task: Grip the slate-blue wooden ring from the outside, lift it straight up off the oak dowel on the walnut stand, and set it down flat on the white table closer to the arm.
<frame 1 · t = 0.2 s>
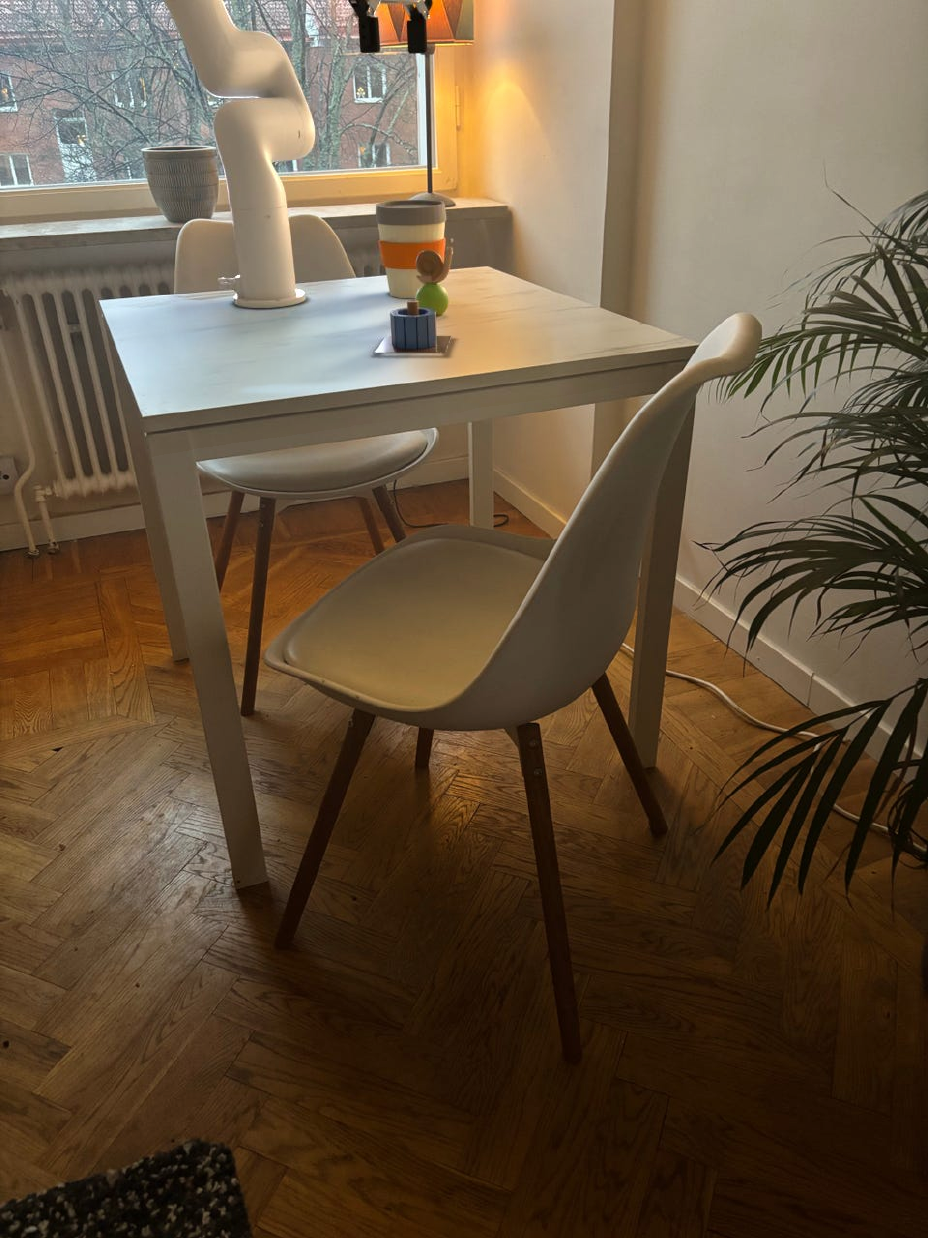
hand: (394, 52, 130), 37 cm above the table, tool pointing down, fingers open, 9 cm apart
blue ring: (414, 343, 135), point 1 cm above the table, touching dowel stand
reusable coffee cup: (414, 294, 171), on the table
dowel stand: (414, 347, 136), on the table
snail figurine: (435, 318, 153), on the table
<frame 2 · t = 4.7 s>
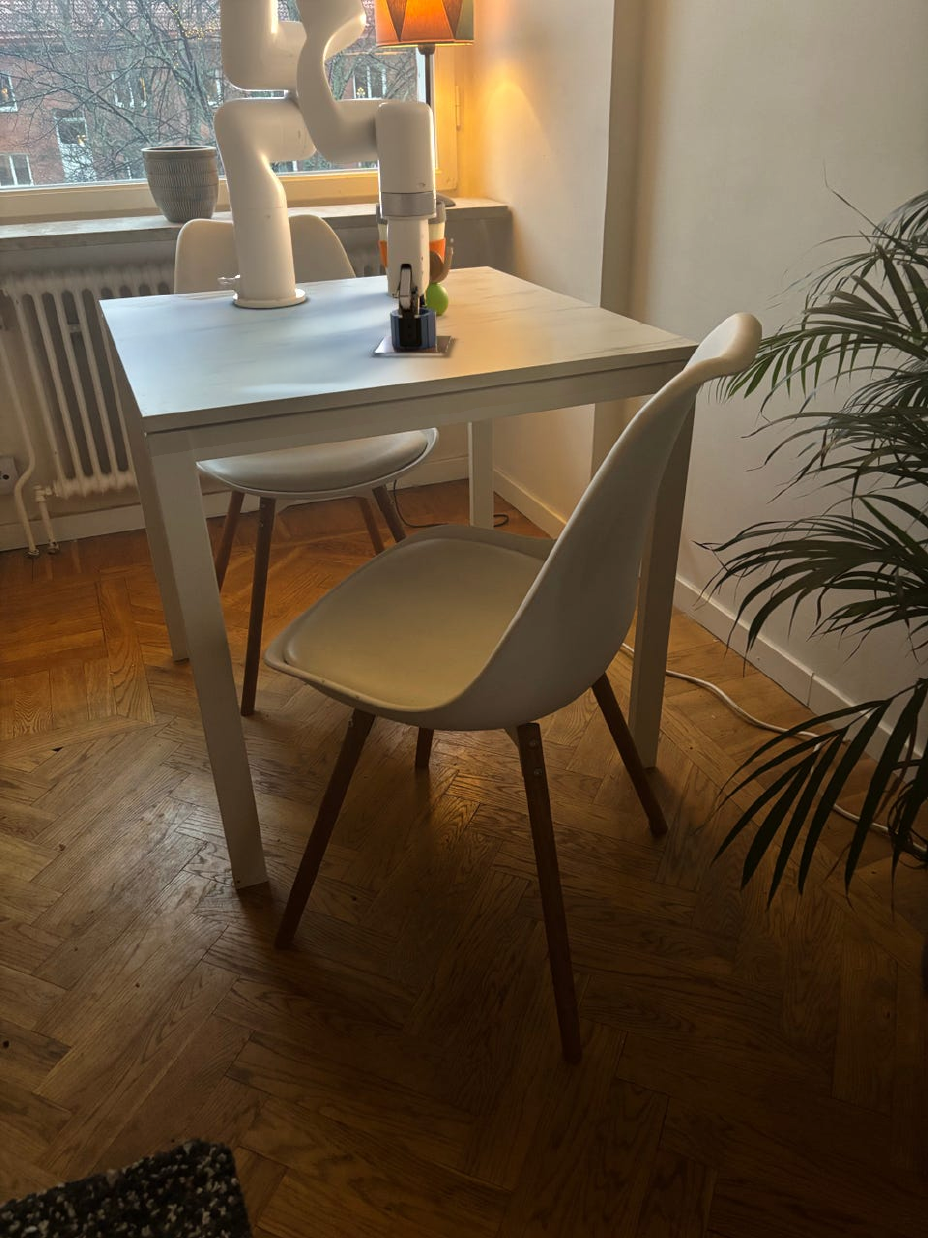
hand: (414, 339, 135), 1 cm above the table, tool pointing down, fingers closed on blue ring, 6 cm apart
blue ring: (414, 343, 135), point 1 cm above the table, touching dowel stand, gripper
everything else where it was.
when the fingers open (1 cm above the table, at t = 13.3 s): blue ring stays where it is, on the table.
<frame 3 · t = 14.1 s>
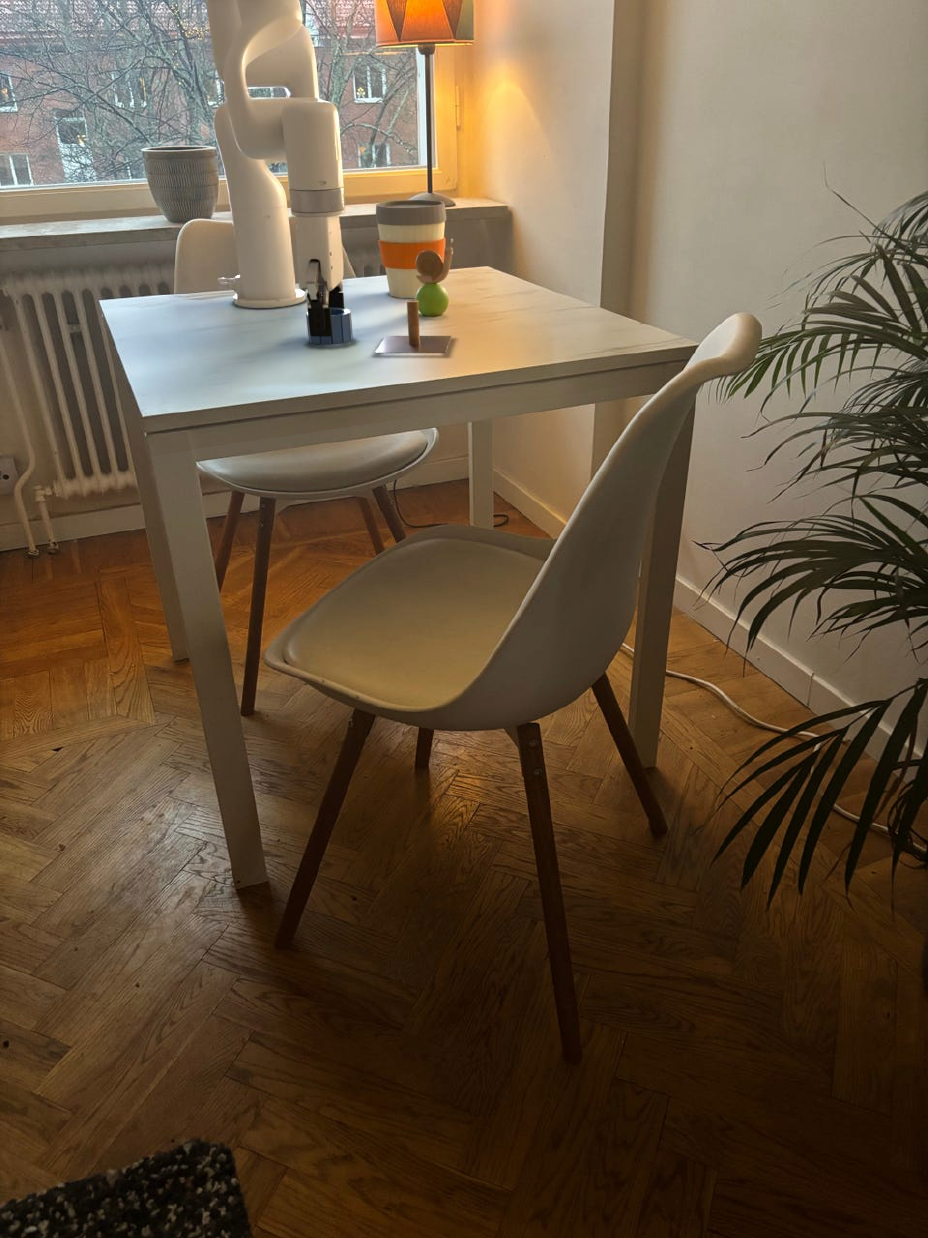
hand: (328, 327, 138), 2 cm above the table, tool pointing down, fingers open, 9 cm apart
blue ring: (331, 343, 139), on the table
everything else where it was.
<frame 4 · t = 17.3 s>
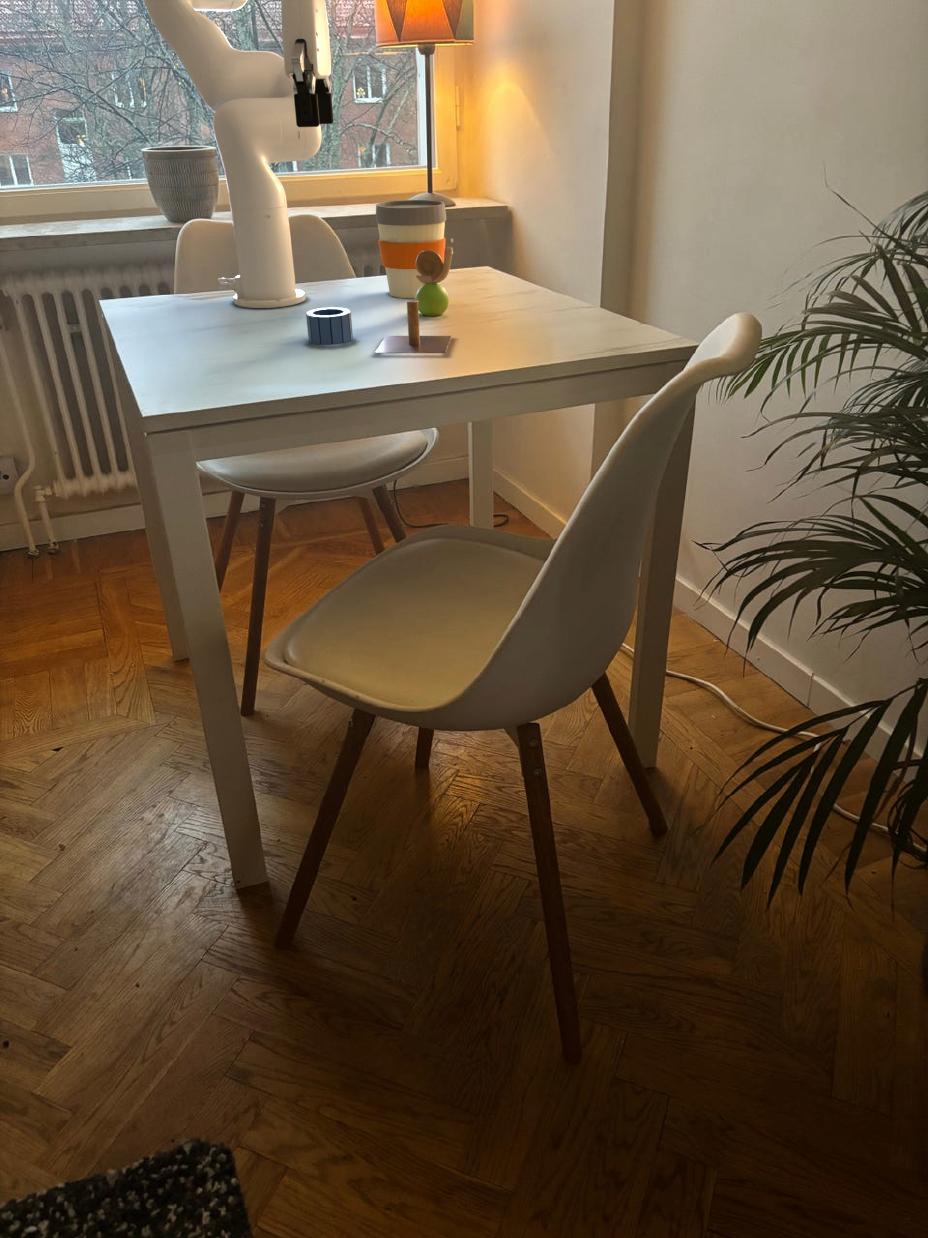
hand: (315, 125, 136), 28 cm above the table, tool pointing down, fingers open, 9 cm apart
nothing on the table moved.
at the end: blue ring inside the target area (0.1 cm from its centre), on the table; blue ring tilted 0°; the gripper is holding nothing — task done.
